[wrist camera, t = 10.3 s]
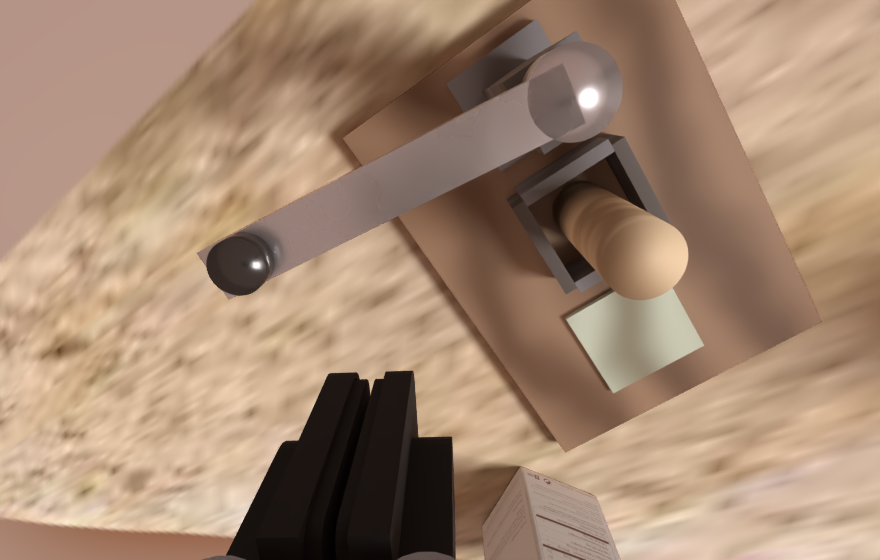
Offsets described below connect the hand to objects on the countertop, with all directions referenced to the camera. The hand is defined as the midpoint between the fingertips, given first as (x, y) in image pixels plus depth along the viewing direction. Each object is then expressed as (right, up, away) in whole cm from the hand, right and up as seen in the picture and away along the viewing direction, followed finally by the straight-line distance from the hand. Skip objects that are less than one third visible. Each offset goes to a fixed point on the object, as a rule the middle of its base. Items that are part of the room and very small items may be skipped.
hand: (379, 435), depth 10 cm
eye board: (+11, +6, +23) cm, 27 cm away
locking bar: (0, +7, +8) cm, 11 cm away
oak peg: (+10, +8, +21) cm, 25 cm away
